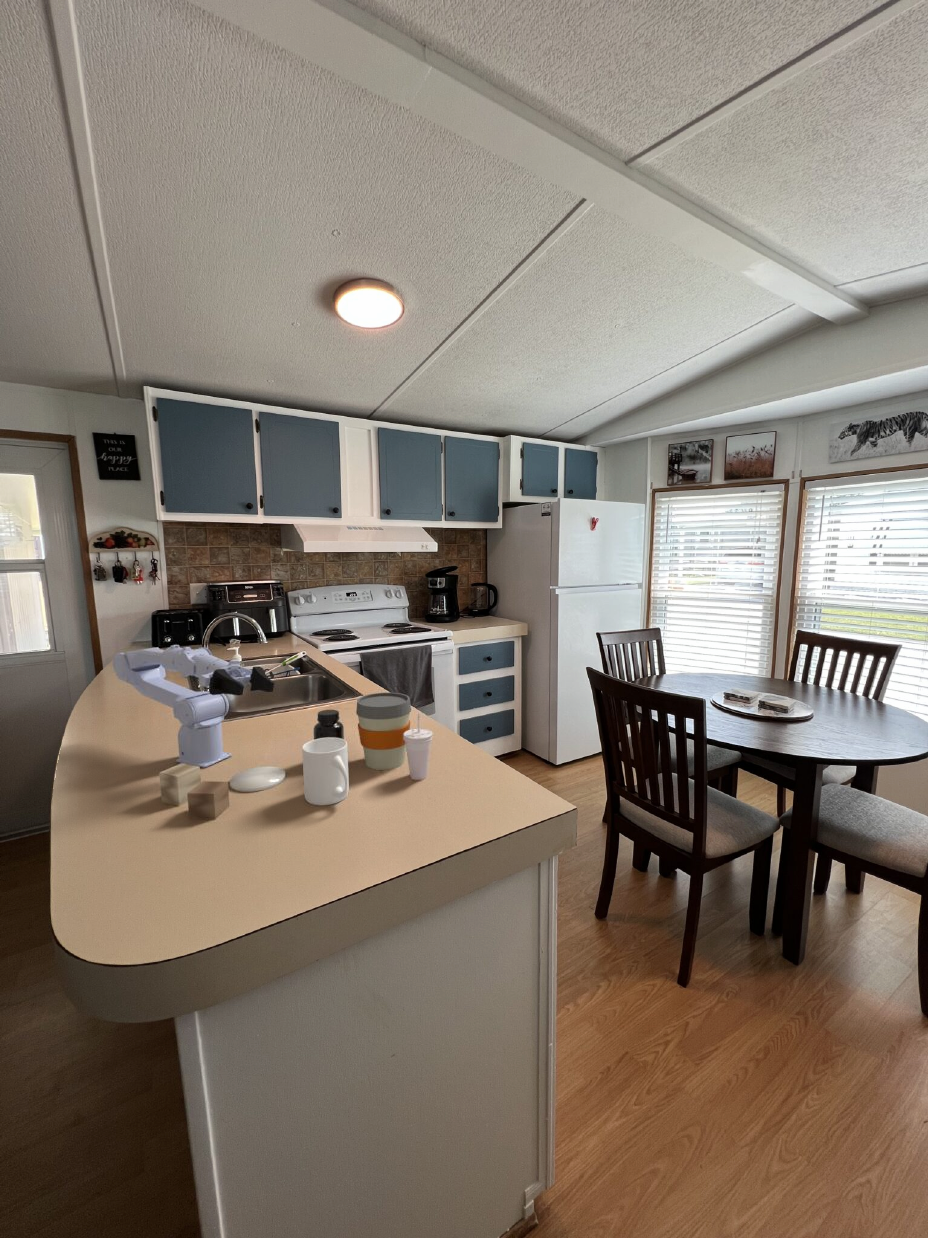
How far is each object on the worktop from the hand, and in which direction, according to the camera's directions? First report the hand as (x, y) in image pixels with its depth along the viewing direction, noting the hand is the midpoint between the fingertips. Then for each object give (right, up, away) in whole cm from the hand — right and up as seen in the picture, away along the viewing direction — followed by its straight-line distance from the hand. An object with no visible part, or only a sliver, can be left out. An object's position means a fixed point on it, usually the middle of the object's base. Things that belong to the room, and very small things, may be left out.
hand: (257, 689), depth 109 cm
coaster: (0, -20, +1) cm, 20 cm away
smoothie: (+34, -20, +3) cm, 39 cm away
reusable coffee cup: (+26, -19, +11) cm, 33 cm away
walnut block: (-4, -22, -12) cm, 25 cm away
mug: (+18, -21, -7) cm, 28 cm away
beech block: (-12, -21, -7) cm, 25 cm away
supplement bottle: (+13, -19, +11) cm, 25 cm away
